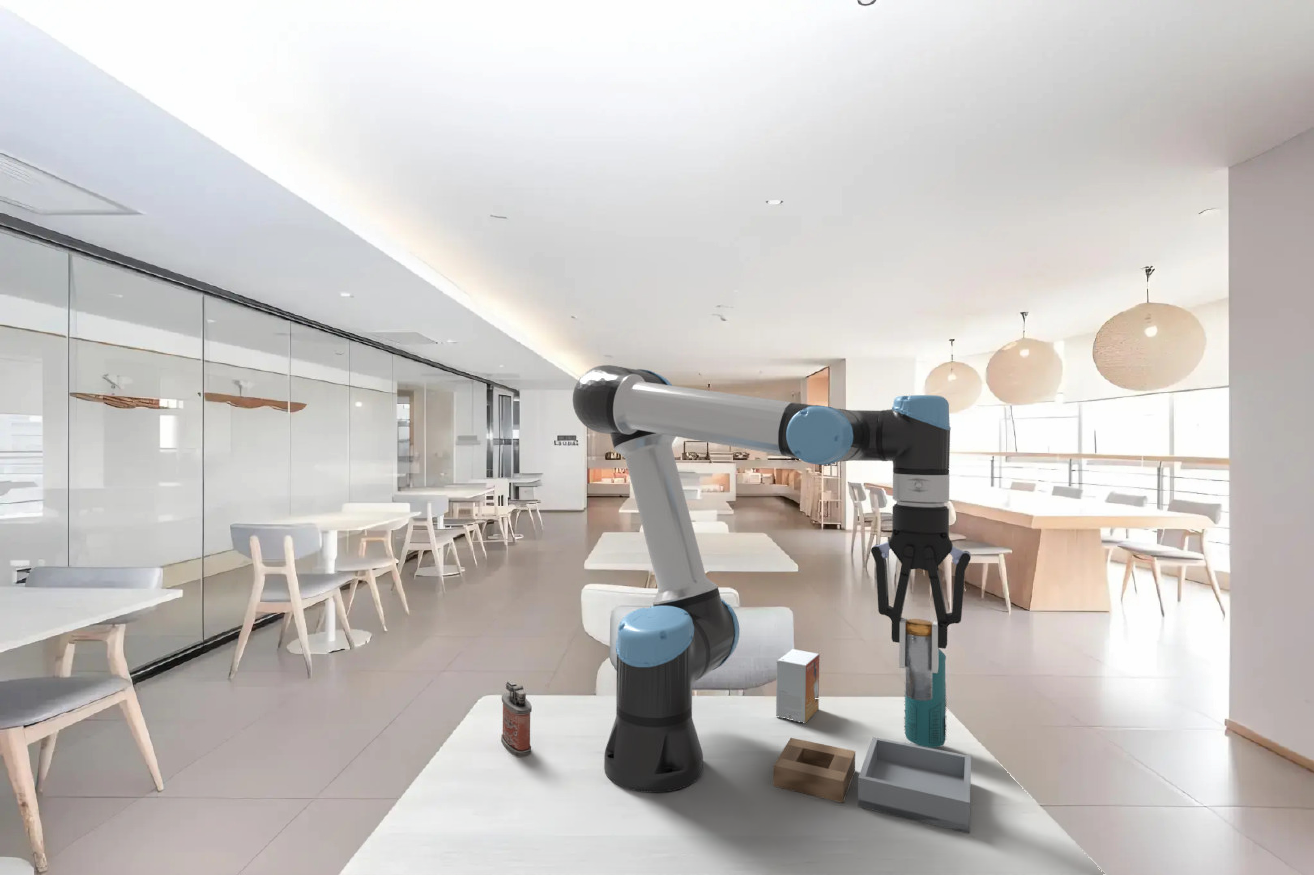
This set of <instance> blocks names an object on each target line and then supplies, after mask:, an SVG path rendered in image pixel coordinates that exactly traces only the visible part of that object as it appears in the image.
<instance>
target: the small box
mask: <svg viewBox="0 0 1314 875" xmlns="http://www.w3.org/2000/svg"><path fill="white" fill-rule="evenodd" d="M819 686H820V654H819V653H816V652H810V651H806V650H805V651H804V650H801V649H795V648H794V649H793V648H792V649H790V650H789V651H787V653H785V654H784V655H783V656H782V657H780V658H778V659H777V660H776V695H775V696H776V698H775V699H776V700H775V702H776V703H775V706H776V708H775V710H776V711H775V714H776V715H775V716H779V717H785V718H789V719H793V720H795V721H794V722H796V721H800V722H804V723H803V724H806V723H807V722H808V720H810V718H812V717H813V716H814V715H815V713H817V712H818V711H819V708H820V707H819V705H820V704H819V703H820V694H819V693H820V687H819ZM815 698H819V699H815ZM817 710H818V711H817ZM779 717H778V718H779ZM806 721H807V722H806ZM800 722H799V723H800ZM805 722H806V723H805Z"/></svg>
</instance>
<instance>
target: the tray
mask: <svg viewBox="0 0 1314 875" xmlns="http://www.w3.org/2000/svg"><path fill="white" fill-rule="evenodd" d="M971 773H972V756H971V755H967V754H961V753H955V752H952V751H946V750H942V749H937V748H933V747H925V746H920V745H917V744H913V743H906V742H903V741H902V742H901V741H897V740H891V739H885V738H881V737H876V736H872V738H871V741H870V744H869V746H868V749H867V752H866V754H865V758H864V761H863V763H862V767H861V769H860V771H859V775H858V778H857V780H858V781H857V783H858V784H857V807H858V808H864V809H867V810H872V811H875V812H879V813H884V814H887V815H891V816H895V817H901V818H905V819H907V820H912V821H916V822H920V823H925V824H929V825H933V826H937V827H941V828H944V829H945V828H946V829H949V830H954V831H959V832H962V833H966V834H970V831H971V830H970V826H971V825H970V824H971V822H970V821H971V783H972V780H971V779H972V776H971V775H972V774H971Z"/></svg>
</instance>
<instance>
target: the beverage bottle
mask: <svg viewBox="0 0 1314 875" xmlns="http://www.w3.org/2000/svg"><path fill="white" fill-rule="evenodd" d="M946 660H947V656H946V654H945V653H944V652H943V651H942V649H941V648H939V661H938V673H932V699H931V700H927V701H921V700H915V699H911V698H909V697H907V696H906V695H905V694H904V701H903V704H904V709H903V711H904V717H903V719H904V722H903V728H904V729H903V731H904V734H905V737H906V739H907V740H908V741H909V742H911V744H913V745H917V746H922V747H927V748H939V747H942V746H944V745H945V742H946V740H947V738H948V737H947V731H948V730H947V711H948V710H947V701H948V700H947V687H948V686H947V682H946ZM904 685H905V682H904ZM903 692H905V689H904V691H903Z"/></svg>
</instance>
